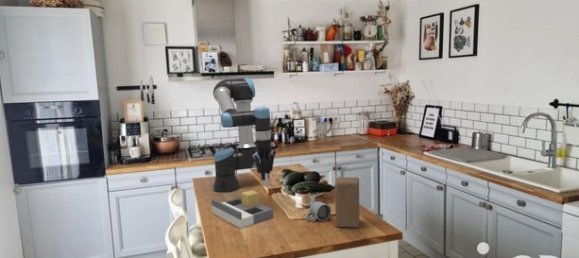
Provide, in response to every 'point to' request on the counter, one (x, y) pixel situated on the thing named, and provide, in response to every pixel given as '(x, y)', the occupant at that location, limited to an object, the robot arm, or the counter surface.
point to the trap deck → (241, 212)
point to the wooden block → (347, 202)
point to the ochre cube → (250, 198)
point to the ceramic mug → (319, 211)
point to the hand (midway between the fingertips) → (265, 185)
